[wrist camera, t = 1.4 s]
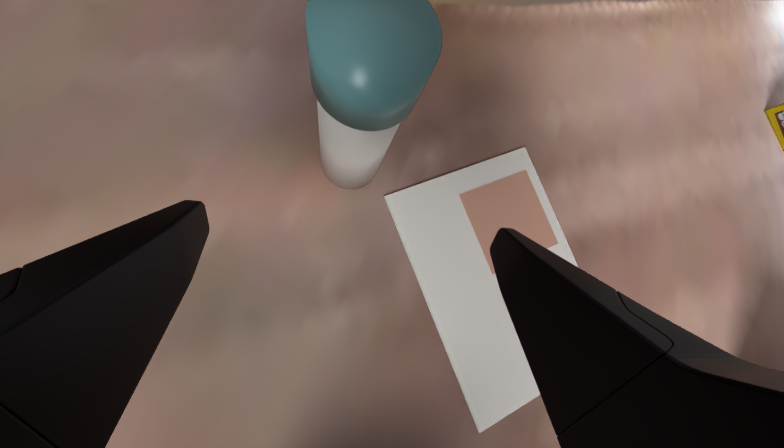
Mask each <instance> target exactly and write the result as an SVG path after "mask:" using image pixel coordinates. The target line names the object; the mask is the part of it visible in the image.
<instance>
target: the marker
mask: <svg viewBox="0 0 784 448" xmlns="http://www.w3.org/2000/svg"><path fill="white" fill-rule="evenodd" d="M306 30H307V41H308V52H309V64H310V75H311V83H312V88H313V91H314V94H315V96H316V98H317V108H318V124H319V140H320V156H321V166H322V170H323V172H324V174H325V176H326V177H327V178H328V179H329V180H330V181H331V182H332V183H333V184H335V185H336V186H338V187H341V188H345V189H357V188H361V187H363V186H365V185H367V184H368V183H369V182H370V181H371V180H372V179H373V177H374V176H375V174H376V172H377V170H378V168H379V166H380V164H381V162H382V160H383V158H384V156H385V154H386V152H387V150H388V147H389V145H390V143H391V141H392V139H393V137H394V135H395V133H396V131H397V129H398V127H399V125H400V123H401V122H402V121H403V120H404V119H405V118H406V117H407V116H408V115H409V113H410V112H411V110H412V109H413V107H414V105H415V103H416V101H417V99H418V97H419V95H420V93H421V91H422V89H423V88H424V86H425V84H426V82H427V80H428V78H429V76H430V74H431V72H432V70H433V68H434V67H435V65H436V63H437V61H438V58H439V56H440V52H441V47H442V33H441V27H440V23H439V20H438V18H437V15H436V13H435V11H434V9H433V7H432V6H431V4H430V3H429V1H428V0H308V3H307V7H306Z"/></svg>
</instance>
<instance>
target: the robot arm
mask: <svg viewBox="0 0 784 448" xmlns="http://www.w3.org/2000/svg"><path fill="white" fill-rule="evenodd" d="M208 234H209V223H208V218H207V214H206V209H205V205H204V204H203V203H202V202H201V201H192V200H184V201H181V202H179V203H176V204H174V205H172V206H169V207H167V208H164V209H162V210H159V211H157V212H154V213H152V214H149V215H147V216H144V217H142V218H139V219H137V220H134V221H132V222H130V223H127V224H125V225H122V226H120V227H117V228H115V229H112V230H110V231H107V232H105V233H102V234H100V235H97V236H95V237H92V238H90V239H87V240H85V241H83V242H80V243H78V244H75V245H73V246H70V247H68V248H65V249H63V250H60V251H58V252H55V253H53V254H50V255H48V256H45V257H43V258H41V259H38V260H36V261H33V262H31V263H28V264H26V265H24V266H23V268H16V269H13V270H11V271H8V272H6V273H3V274H1V275H0V448H105V447H106V445H107V443H108V441H109V439H110V437H111V435H112V433H113V431H114V429H115V427H116V425H117V424H118V422H119V420H120V418H121V416H122V414H123V412H124V410H125V408H126V406H127V404H128V402H129V400H130V398H131V396H132V395H133V393H134V391H135V389H136V387H137V385H138V383H139V381H140V379H141V377H142V375H143V373H144V371H145V369H146V368H147V366H148V364H149V362H150V360H151V358H152V356H153V354H154V352H155V350H156V348H157V346H158V344H159V342H160V341H161V339H162V337H163V335H164V333H165V331H166V329H167V327H168V325H169V323H170V321H171V319H172V317H173V315H174V313H175V312H176V310H177V308H178V306H179V304H180V302H181V300H182V298H183V296H184V294H185V292H186V290H187V288H188V286H189V284H190V282H191V280H192V278H193V275H194V273H195V270H196V267H197V264H198V262H199V259H200V256H201V253H202V251H203V248H204V245H205V242H206V240H207V237H208ZM490 255H491V259H492V263H493V267H494V270H495V274H496V278H497V281H498V285H499V288H500V292H501V294H502V297H503V300H504V302H505V305H506V307H507V310H508V313H509V315H510V318H511V320H512V323H513V325H514V328H515V330H516V333H517V336H518V338H519V341H520V343H521V346H522V348H523V351H524V354H525V356H526V359H527V361H528V364H529V366H530V369H531V372H532V374H533V377H534V379H535V382H536V384H537V387H538V389H539V392H540V395H541V397H542V400H543V402H544V405H545V407H546V410H547V413H548V415H549V418H550V420H551V423H552V425H553V428H554V431H555V433H556V435H557V439H558V441H559V444H560V446H561V448H784V372H783V371H777V370H773V369H769V368H765V367H761V366H758V365H755V364H752V363H749V362H747V361H744V360H742V359H740V358H737V357H735V356H733V355H731V354H729V353H727V352H725V351H724V350H722V349H720V348H718V347H716V346H714V345H713V344H711V343H709V342H707V341H705V340H703V339H702V338H700V337H698V336H696V335H694V334H692V333H691V332H689V331H687V330H685V329H683V328H681V327H680V326H678V325H676V324H674V323H672V322H671V321H669V320H667V319H665V318H663V317H662V316H660V315H658V314H656V313H654V312H653V311H651V310H649V309H647V308H646V307H644V306H642V305H641V304H639V303H637V302H635V301H634V300H632V299H630V298H629V297H627V296H625V295H624V294H622V293H620V292H618V291H616V290H615V289H613V288H612V287H610V286H608V285H607V284H605V283H603V282H602V281H600V280H598V279H597V278H595V277H593V276H592V275H590V274H588V273H587V272H585V271H583V270H582V269H580V268H578V267H577V266H575V265H573V264H572V263H570V262H568V261H567V260H565V259H563V258H562V257H560V256H558V255H556V254H555V253H553V252H551V251H550V250H548V249H546V248H545V247H543V246H541V245H540V244H538V243H536V242H535V241H533V240H531V239H530V238H528V237H526V236H525V235H523V234H521V233H520V232H518V231H516V230H515V229H512V228H500V229H499V230H498V231H497V233H496V235H495V237H494V239H493V242H492V244H491V246H490Z"/></svg>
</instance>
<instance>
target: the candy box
mask: <svg viewBox="0 0 784 448" xmlns="http://www.w3.org/2000/svg"><path fill="white" fill-rule="evenodd" d="M765 113H766V115H767V117H768V119H769V122H770V124H771V126H772V128H773V130H774V132H775V134H776V136H777V138H778V141H779V143H780V145H781V147H782V149H783V151H784V103H782V104H780V105H777V106H774V107H772V108H769V109H767V110H766V111H765Z"/></svg>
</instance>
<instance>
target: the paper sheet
mask: <svg viewBox="0 0 784 448" xmlns="http://www.w3.org/2000/svg"><path fill="white" fill-rule="evenodd" d="M384 199H385V201H386V204H387V206H388V209H389V211H390V213H391V216H392V218H393V221H394V223H395V226H396V228H397V231H398V233H399V236H400V238H401V241H402V243H403V246H404V248H405V251H406V253H407V256H408V258H409V261H410V263H411V266H412V268H413V271H414V273H415V276H416V278H417V281H418V283H419V286H420V288H421V291H422V293H423V296H424V298H425V301H426V303H427V306H428V308H429V310H430V313H431V315H432V318H433V320H434V323H435V325H436V328H437V330H438V333H439V335H440V338H441V340H442V343H443V345H444V348H445V350H446V353H447V355H448V358H449V360H450V363H451V365H452V368H453V370H454V373H455V375H456V378H457V380H458V383H459V385H460V388H461V390H462V393H463V395H464V398H465V400H466V403H467V405H468V407H469V410H470V412H471V415H472V417H473V420H474V422H475V425H476V427H477V430H478V432H479V433H481V432H483V431H484V430H486V429H487V428H489V427H491V426H492V425H494V424H495V423H497V422H498V421H500V420H501V419H503V418H505V417H506V416H508V415H509V414H511V413H512V412H514V411H515V410H517V409H519V408H520V407H522V406H523V405H525V404H526V403H528V402H529V401H531V400H533V399H534V398H536V397H537V396H539V395H540V392H539V389H538V387H537V384H536V382H535V379H534V377H533V374H532V372H531V369H530V366H529V364H528V361H527V359H526V356H525V354H524V351H523V348H522V346H521V343H520V341H519V338H518V336H517V333H516V330H515V328H514V325H513V323H512V320H511V318H510V315H509V313H508V310H507V307H506V305H505V302H504V300H503V297H502V294H501V292H500V288H499V285H498V281H497V278H496V274H495V270H494V267H493V263H492V259H491V255H490V246H491V244H492V242H493V239H494V237H495V235H496V233H497V231H498V230H499V229H500V228H512V229H515V230H516V231H518V232H520V233H521V234H523V235H525V236H526V237H528V238H530V239H531V240H533V241H535V242H536V243H538V244H540V245H541V246H543V247H545V248H546V249H548V250H550V251H551V252H553V253H555V254H556V255H558V256H560V257H562V258H563V259H565V260H567V261H568V262H570V263H572V264H573V265H575V266H577V267H578V265H577V263H576V261H575V258H574V256H573V254H572V252H571V249H570V247H569V245H568V243H567V240H566V238H565V236H564V234H563V231H562V229H561V227H560V225H559V222H558V220H557V218H556V216H555V213H554V211H553V209H552V207H551V204H550V202H549V200H548V198H547V195H546V193H545V191H544V189H543V186H542V184H541V182H540V179H539V177H538V175H537V173H536V170H535V168H534V166H533V164H532V161H531V159H530V157H529V155H528V152H527V150H526V148H525V147H523V148H520V149H518V150H515V151H512V152H509V153H506V154H503V155H500V156H498V157H495V158H492V159H489V160H486V161H483V162H480V163H478V164H475V165H472V166H469V167H466V168H463V169H461V170H458V171H455V172H452V173H449V174H446V175H443V176H441V177H438V178H435V179H432V180H429V181H426V182H423V183H421V184H418V185H415V186H412V187H409V188H406V189H403V190H401V191H398V192H395V193H392V194H389V195H386V196H384ZM578 268H579V267H578Z"/></svg>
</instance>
